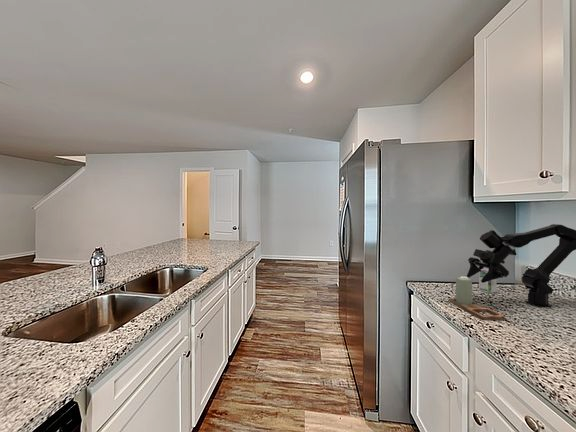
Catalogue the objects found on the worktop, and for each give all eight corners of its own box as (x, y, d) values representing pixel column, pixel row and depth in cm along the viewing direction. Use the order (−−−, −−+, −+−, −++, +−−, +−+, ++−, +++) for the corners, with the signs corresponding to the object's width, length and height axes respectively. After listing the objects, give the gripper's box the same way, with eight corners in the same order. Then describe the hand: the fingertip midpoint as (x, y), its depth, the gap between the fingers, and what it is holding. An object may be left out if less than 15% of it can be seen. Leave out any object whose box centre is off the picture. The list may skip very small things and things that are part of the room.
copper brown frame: (466, 300, 126) (466, 297, 126) (504, 319, 104) (504, 316, 104) (448, 301, 126) (448, 298, 126) (482, 320, 104) (482, 316, 104)
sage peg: (465, 302, 124) (465, 277, 124) (472, 306, 119) (471, 280, 119) (456, 302, 124) (455, 277, 124) (462, 306, 119) (462, 280, 119)
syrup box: (478, 290, 141) (478, 264, 141) (485, 289, 143) (485, 263, 143) (490, 293, 136) (490, 266, 136) (497, 292, 138) (496, 264, 138)
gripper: (471, 241, 130) (449, 263, 131) (502, 246, 112) (476, 272, 112) (487, 256, 131) (465, 278, 131) (520, 264, 112) (495, 289, 112)
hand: (474, 279), depth 121 cm, fingers open, 9 cm apart
